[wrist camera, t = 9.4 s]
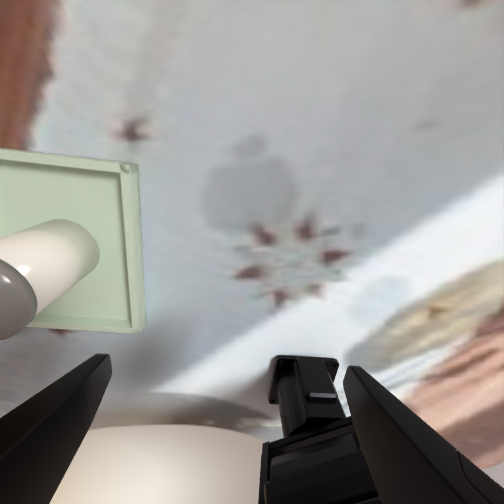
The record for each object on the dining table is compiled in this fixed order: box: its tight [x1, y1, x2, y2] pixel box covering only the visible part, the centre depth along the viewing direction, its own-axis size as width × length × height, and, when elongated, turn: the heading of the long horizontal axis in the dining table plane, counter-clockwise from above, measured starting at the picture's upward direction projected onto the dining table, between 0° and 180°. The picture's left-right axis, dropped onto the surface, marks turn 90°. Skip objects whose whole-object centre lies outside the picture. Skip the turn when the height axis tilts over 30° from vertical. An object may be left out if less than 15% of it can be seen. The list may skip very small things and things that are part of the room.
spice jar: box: [0, 219, 100, 340], centre depth 16 cm, size 5×5×7 cm
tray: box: [0, 147, 146, 334], centre depth 19 cm, size 14×11×2 cm
